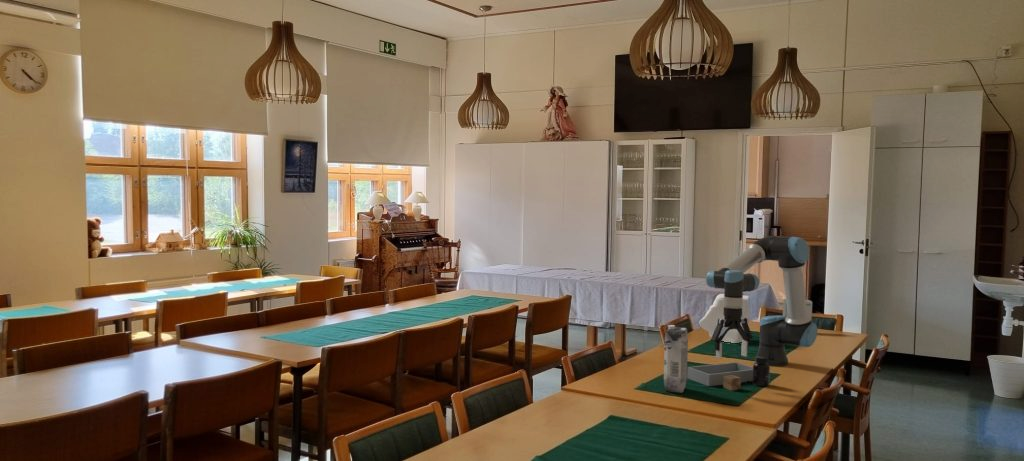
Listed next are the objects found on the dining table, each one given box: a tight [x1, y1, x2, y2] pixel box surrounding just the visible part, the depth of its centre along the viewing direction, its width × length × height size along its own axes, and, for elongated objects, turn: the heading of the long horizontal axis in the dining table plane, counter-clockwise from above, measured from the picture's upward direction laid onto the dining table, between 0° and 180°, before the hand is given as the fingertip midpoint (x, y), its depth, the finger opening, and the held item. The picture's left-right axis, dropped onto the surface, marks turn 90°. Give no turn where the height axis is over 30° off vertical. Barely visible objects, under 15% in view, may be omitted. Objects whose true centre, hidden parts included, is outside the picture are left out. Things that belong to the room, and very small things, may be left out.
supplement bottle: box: [752, 356, 771, 388], centre depth 311 cm, size 7×7×12 cm
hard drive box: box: [782, 298, 813, 321], centre depth 437 cm, size 16×8×20 cm, turn 81°
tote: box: [687, 361, 753, 387], centre depth 320 cm, size 28×15×5 cm, turn 114°
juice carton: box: [663, 324, 689, 394], centre depth 301 cm, size 9×10×27 cm
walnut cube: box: [722, 375, 742, 391], centre depth 305 cm, size 5×5×5 cm
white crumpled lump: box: [698, 293, 751, 343], centre depth 411 cm, size 21×27×26 cm
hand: (731, 357), depth 305 cm, fingers open, 13 cm apart
